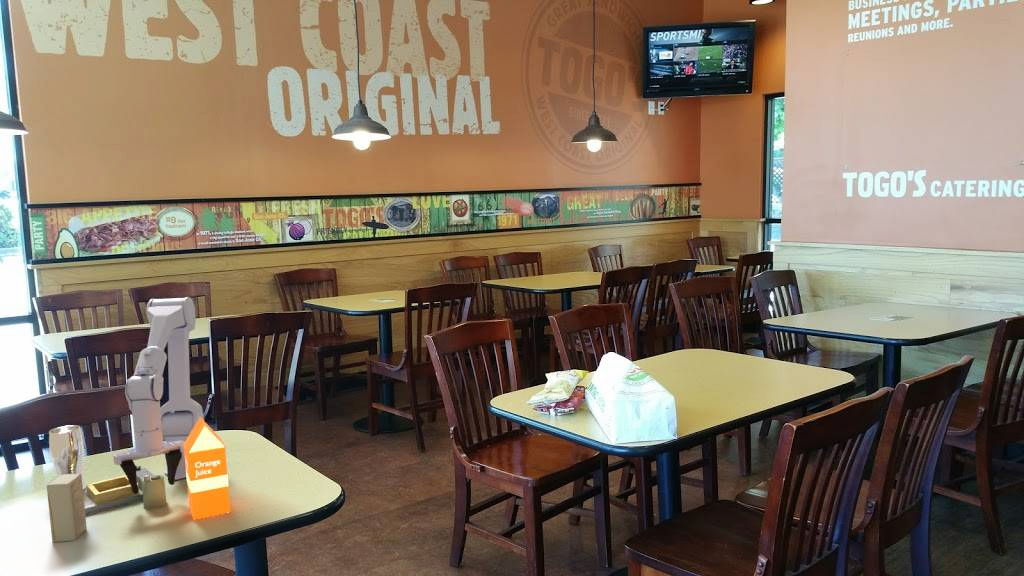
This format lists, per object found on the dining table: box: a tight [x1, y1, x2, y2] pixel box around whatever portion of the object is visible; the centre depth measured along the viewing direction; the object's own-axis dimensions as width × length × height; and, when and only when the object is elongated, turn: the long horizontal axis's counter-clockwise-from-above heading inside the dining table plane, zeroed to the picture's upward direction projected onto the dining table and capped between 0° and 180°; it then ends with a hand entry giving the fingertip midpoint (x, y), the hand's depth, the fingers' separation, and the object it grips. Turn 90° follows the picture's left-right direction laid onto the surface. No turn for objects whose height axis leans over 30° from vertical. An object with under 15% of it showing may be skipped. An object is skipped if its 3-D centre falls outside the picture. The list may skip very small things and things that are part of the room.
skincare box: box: [46, 473, 87, 543], centre depth 163 cm, size 6×4×12 cm
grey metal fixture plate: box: [83, 465, 155, 516], centre depth 183 cm, size 18×12×5 cm, turn 130°
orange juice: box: [184, 417, 231, 521], centre depth 174 cm, size 8×9×20 cm
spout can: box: [142, 474, 167, 510], centre depth 178 cm, size 5×5×7 cm
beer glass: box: [48, 425, 86, 491], centre depth 190 cm, size 7×7×15 cm
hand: (153, 488), depth 178 cm, fingers open, 7 cm apart
